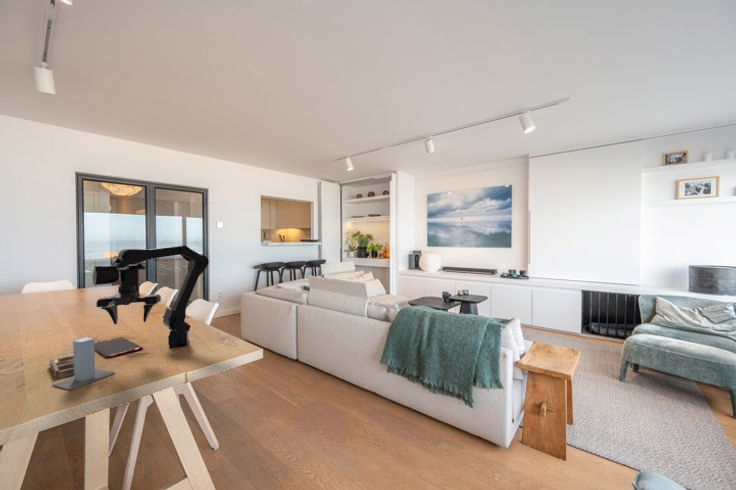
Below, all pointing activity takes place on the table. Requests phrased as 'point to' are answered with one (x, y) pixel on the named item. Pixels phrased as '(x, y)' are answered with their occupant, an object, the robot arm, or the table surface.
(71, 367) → the rack
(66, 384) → the mat
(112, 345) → the smartphone
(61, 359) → the offcut stack
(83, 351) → the block
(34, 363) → the table surface
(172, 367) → the table surface
